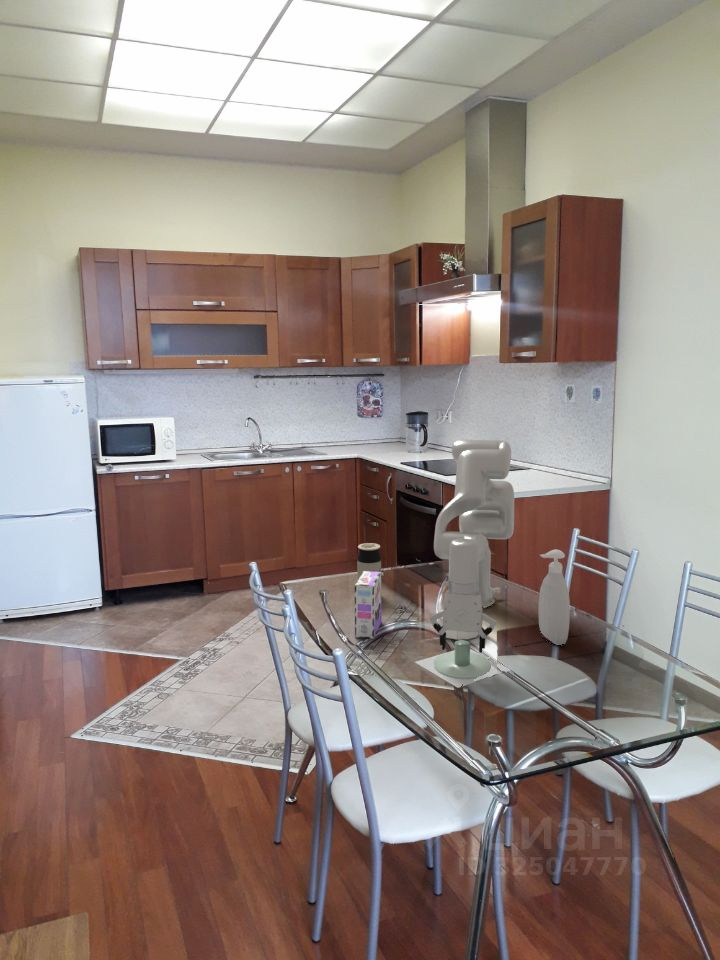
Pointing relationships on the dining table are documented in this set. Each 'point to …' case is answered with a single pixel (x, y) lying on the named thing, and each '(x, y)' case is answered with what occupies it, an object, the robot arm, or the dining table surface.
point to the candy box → (368, 604)
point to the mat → (457, 682)
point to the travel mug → (368, 558)
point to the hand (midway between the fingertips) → (462, 649)
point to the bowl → (457, 632)
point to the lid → (462, 662)
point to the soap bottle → (554, 601)
